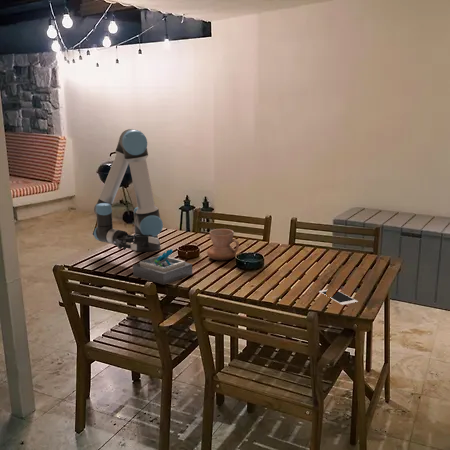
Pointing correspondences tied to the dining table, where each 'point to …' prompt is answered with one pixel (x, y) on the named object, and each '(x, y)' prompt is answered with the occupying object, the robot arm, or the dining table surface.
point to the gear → (163, 258)
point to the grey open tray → (162, 270)
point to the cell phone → (340, 298)
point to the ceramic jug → (222, 244)
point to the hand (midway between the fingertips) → (147, 244)
